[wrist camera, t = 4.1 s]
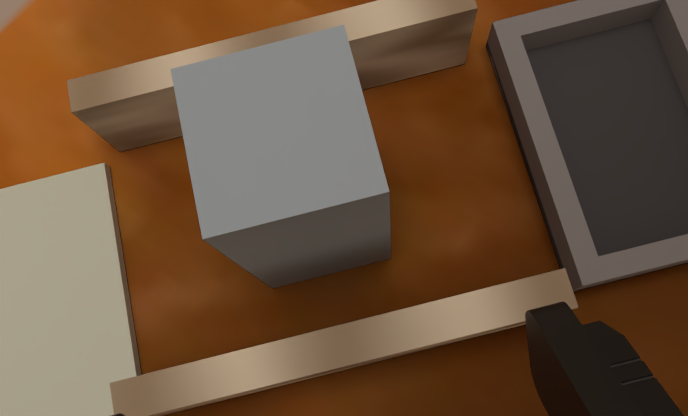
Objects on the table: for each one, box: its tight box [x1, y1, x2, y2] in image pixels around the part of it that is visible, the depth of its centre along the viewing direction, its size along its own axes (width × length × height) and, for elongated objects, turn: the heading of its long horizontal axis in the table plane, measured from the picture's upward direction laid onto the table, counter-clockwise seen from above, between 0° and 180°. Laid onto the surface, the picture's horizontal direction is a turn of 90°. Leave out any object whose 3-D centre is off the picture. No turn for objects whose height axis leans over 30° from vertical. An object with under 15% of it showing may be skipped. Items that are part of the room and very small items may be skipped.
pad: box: [0, 163, 142, 416], centre depth 24 cm, size 7×11×1 cm, turn 14°
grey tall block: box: [170, 25, 391, 288], centre depth 20 cm, size 4×4×9 cm
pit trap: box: [486, 0, 688, 291], centre depth 23 cm, size 7×10×2 cm
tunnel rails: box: [67, 0, 579, 416], centre depth 22 cm, size 14×11×4 cm
